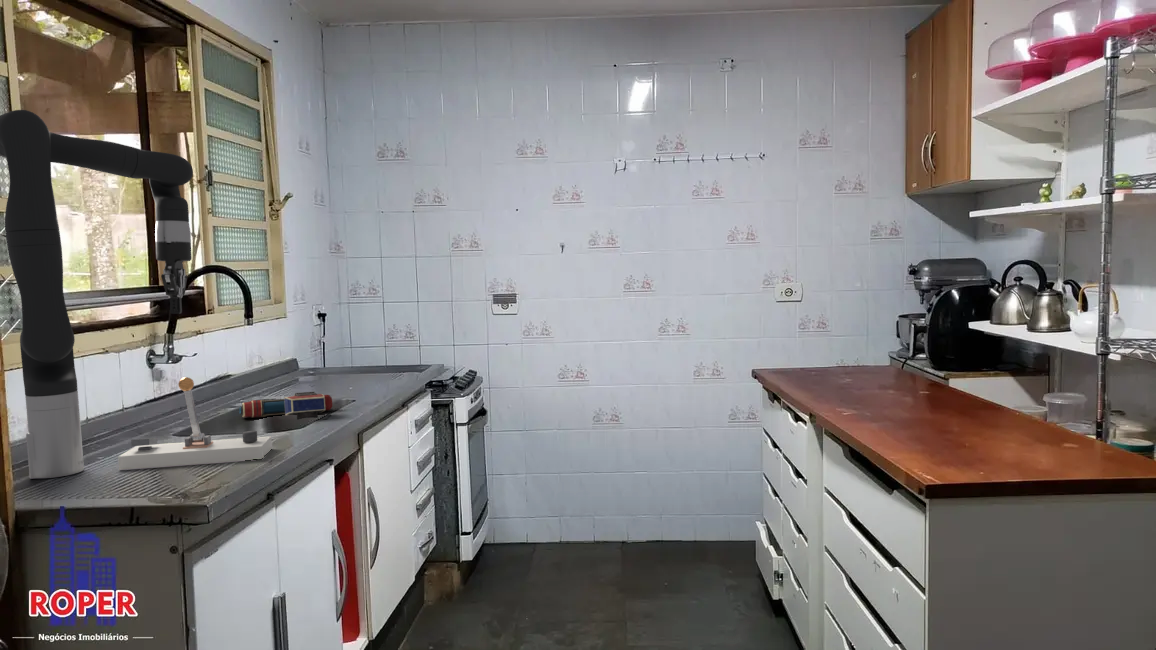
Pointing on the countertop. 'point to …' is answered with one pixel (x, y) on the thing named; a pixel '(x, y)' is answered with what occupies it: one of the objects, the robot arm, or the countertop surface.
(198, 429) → the toggle lever
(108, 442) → the countertop surface
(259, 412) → the tool
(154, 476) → the countertop surface
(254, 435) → the push button
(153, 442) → the rocker
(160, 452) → the control panel
